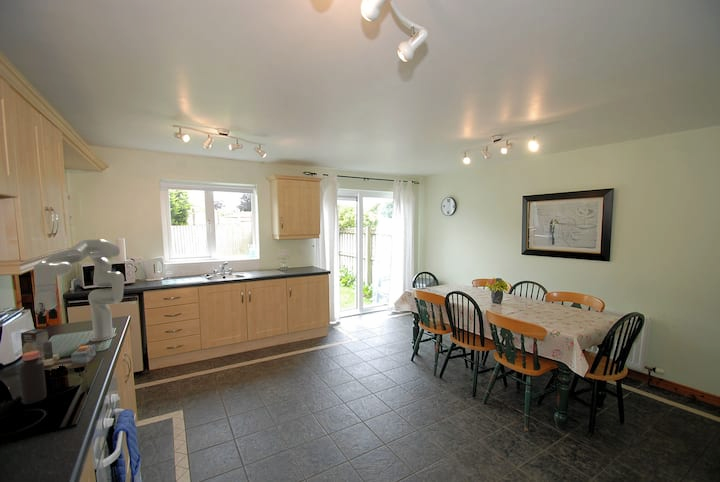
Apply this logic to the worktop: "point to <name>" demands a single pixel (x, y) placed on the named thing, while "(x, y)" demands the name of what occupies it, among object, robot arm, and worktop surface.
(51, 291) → the robot arm
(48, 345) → the cream plate with knob
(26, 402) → the bottle
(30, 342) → the coffee box
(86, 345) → the button
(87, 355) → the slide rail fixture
